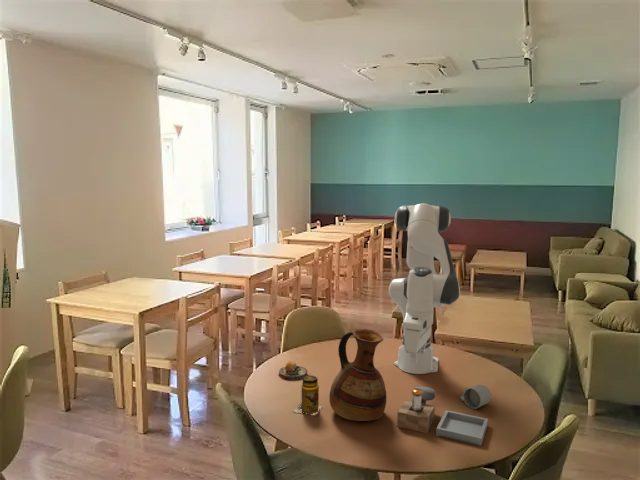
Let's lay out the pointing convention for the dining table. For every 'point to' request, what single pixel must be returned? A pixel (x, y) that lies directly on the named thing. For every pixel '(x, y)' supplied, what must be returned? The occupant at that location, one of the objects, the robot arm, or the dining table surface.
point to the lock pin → (416, 399)
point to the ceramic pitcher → (359, 380)
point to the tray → (462, 427)
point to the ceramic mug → (476, 396)
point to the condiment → (309, 396)
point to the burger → (292, 371)
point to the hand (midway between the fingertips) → (418, 357)
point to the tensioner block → (417, 419)
